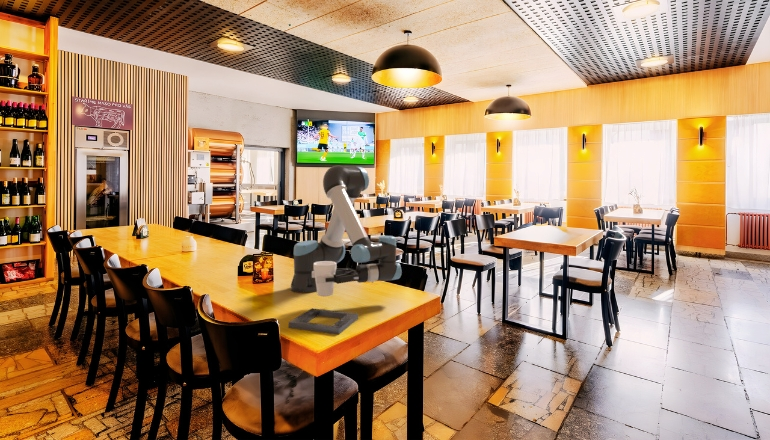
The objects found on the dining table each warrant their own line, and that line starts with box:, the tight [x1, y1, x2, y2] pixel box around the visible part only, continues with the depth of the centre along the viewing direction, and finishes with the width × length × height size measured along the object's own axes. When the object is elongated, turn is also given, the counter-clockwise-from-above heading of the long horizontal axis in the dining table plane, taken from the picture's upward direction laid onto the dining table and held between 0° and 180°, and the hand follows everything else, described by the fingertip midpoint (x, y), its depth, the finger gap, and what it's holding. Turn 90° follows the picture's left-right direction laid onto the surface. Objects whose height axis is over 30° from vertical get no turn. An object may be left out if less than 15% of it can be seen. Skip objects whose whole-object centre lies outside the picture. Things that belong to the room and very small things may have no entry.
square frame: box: [288, 308, 359, 335], centre depth 148 cm, size 20×17×2 cm
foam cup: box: [314, 261, 338, 297], centre depth 164 cm, size 10×9×13 cm
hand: (314, 277), depth 163 cm, fingers closed on foam cup, 9 cm apart
